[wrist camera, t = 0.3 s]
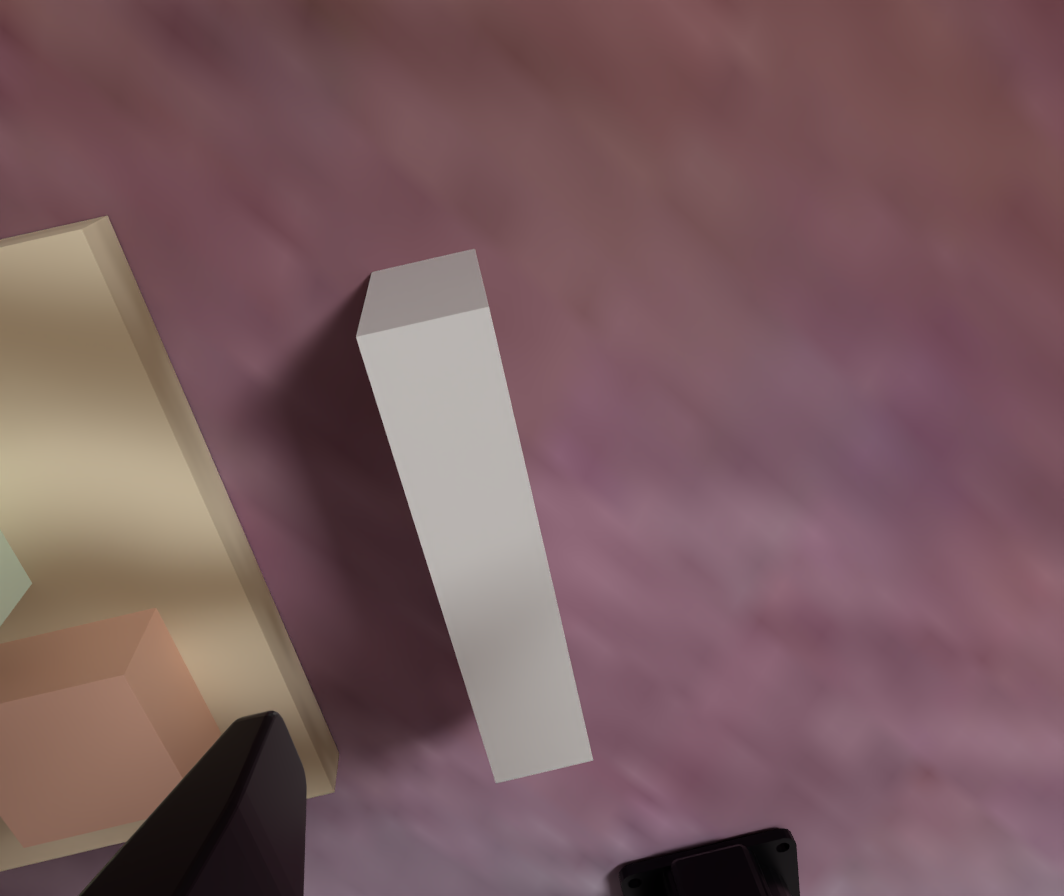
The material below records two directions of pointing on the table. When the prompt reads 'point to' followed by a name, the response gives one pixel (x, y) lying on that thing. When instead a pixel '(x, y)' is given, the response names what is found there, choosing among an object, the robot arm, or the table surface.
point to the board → (127, 498)
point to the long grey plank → (473, 507)
